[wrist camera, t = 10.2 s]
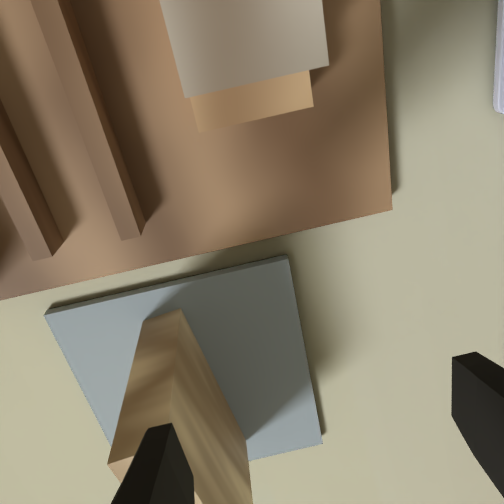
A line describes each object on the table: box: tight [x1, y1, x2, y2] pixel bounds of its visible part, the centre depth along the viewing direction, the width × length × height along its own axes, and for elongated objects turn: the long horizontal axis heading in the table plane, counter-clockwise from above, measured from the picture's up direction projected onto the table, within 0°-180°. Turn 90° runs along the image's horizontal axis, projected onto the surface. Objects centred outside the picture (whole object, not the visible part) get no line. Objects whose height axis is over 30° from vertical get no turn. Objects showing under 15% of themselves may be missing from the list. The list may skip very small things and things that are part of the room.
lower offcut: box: [190, 70, 314, 133], centre depth 13 cm, size 4×7×2 cm, turn 11°
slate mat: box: [44, 255, 323, 461], centre depth 22 cm, size 12×13×1 cm
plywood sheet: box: [107, 308, 253, 504], centre depth 19 cm, size 2×10×8 cm, turn 19°
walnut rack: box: [0, 0, 392, 300], centre depth 13 cm, size 20×18×6 cm
